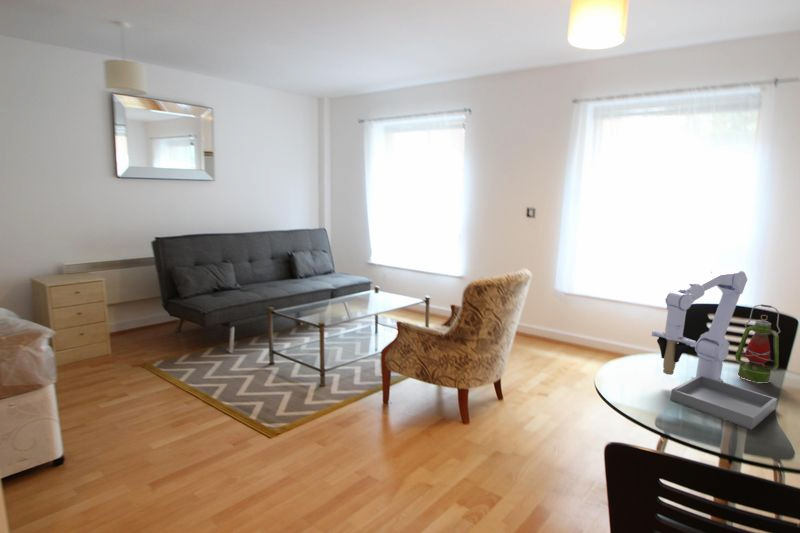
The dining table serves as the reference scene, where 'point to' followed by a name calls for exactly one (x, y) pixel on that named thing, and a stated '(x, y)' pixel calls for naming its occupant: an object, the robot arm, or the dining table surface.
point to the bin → (724, 401)
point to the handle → (670, 356)
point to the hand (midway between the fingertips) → (669, 359)
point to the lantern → (758, 350)
